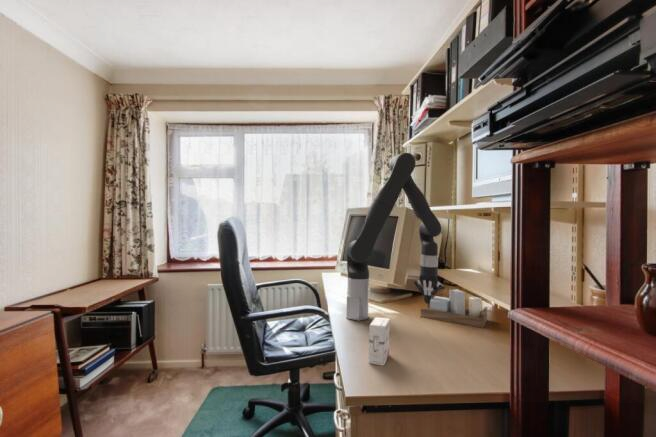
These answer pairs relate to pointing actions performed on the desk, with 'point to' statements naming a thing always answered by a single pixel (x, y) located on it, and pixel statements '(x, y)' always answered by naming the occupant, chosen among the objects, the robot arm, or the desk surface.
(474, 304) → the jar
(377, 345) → the ink box
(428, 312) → the lane
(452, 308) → the skincare box
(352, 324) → the desk surface
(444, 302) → the stamp block with stem
